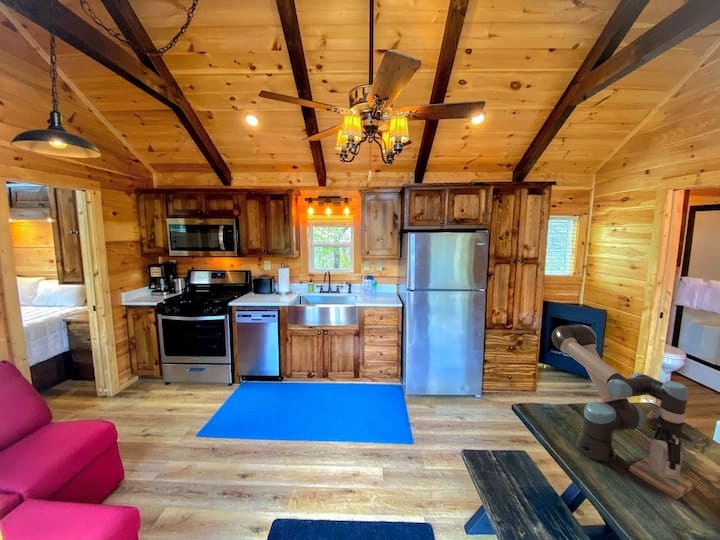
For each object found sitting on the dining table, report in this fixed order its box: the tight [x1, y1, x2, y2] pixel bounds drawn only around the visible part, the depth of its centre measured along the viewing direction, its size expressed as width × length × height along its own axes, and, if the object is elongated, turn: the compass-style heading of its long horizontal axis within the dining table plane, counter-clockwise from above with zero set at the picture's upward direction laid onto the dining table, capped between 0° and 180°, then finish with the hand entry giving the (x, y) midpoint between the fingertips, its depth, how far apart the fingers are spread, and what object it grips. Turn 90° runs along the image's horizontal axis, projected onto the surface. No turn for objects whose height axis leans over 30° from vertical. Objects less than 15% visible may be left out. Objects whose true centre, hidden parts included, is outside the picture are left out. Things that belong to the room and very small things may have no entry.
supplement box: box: [648, 438, 684, 480], centre depth 133 cm, size 7×7×13 cm
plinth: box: [629, 455, 698, 500], centre depth 134 cm, size 16×16×3 cm
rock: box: [644, 409, 659, 430], centre depth 167 cm, size 12×9×10 cm
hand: (663, 465), depth 133 cm, fingers open, 10 cm apart
